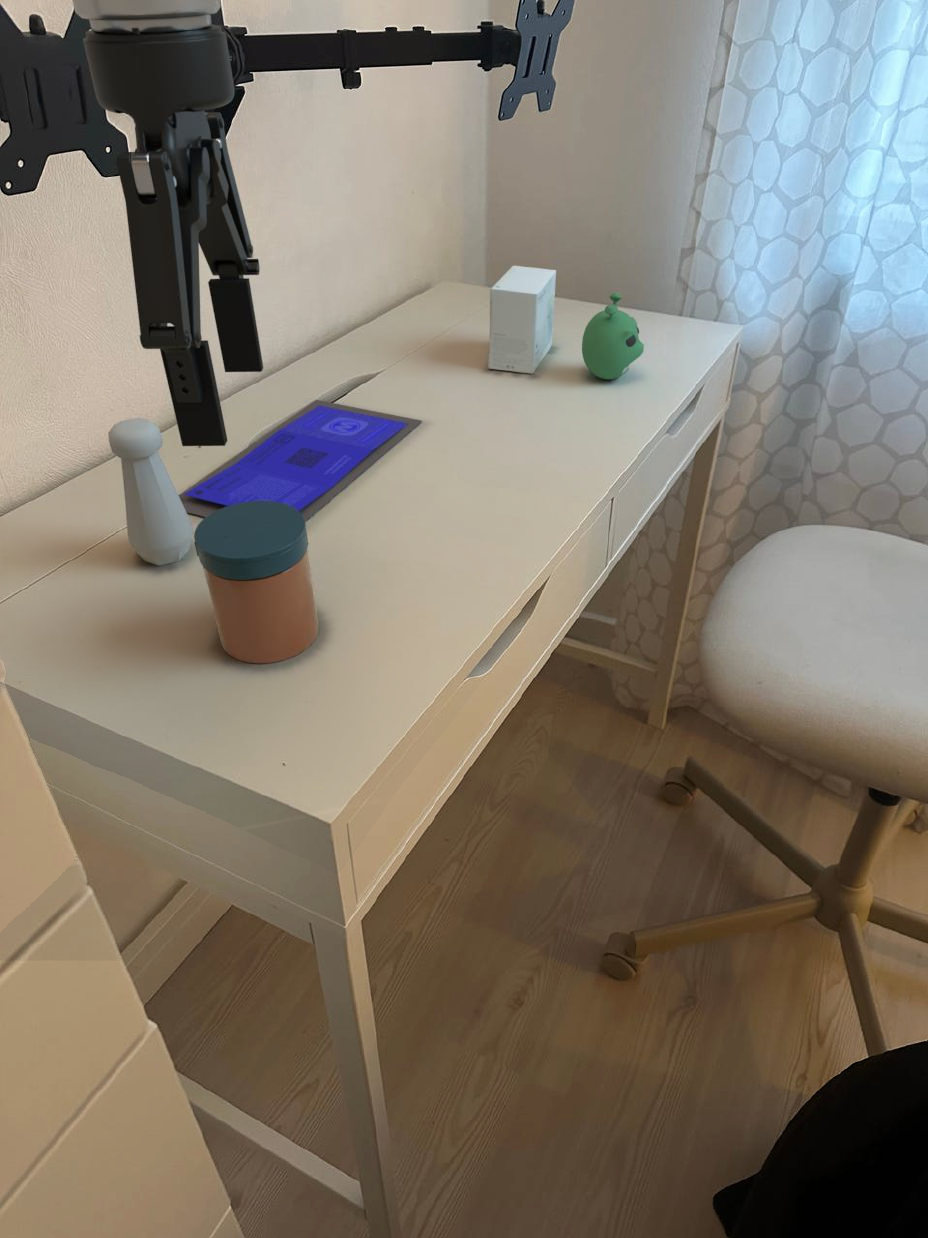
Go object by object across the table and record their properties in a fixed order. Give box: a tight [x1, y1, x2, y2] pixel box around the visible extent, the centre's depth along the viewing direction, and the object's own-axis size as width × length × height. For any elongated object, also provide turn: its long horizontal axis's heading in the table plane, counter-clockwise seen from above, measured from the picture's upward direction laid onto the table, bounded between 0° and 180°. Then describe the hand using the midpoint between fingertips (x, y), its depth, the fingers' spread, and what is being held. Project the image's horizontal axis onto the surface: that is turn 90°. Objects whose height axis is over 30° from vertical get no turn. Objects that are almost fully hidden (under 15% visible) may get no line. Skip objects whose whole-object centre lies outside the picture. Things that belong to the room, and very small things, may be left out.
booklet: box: [183, 407, 404, 511], centre depth 97 cm, size 12×25×1 cm, turn 154°
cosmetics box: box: [487, 265, 557, 375], centre depth 117 cm, size 10×6×10 cm, turn 162°
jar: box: [202, 549, 320, 664], centre depth 71 cm, size 8×8×10 cm
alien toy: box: [581, 292, 645, 380], centre depth 111 cm, size 7×8×10 cm
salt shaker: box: [107, 417, 194, 567], centre depth 80 cm, size 6×6×13 cm
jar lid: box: [193, 501, 309, 580], centre depth 68 cm, size 8×8×2 cm
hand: (226, 404), depth 61 cm, fingers open, 11 cm apart
